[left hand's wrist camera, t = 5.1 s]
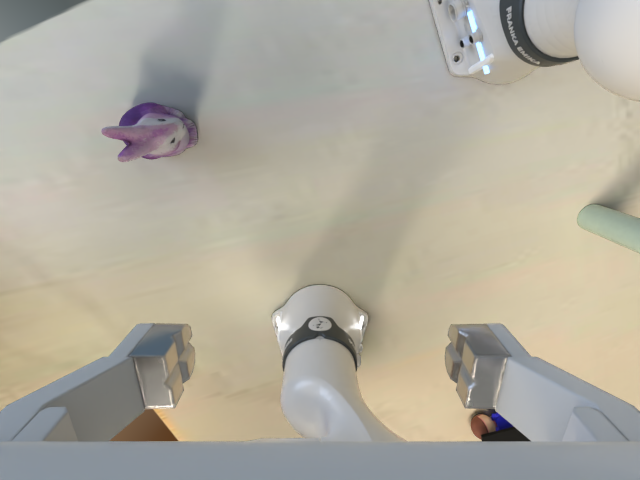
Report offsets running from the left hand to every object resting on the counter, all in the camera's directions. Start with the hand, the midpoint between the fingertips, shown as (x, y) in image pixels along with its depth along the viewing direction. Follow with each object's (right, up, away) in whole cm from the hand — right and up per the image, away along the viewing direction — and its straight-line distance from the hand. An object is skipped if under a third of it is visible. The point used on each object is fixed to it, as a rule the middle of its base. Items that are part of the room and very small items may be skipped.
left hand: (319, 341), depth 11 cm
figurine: (-24, +21, +43) cm, 54 cm away
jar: (+48, +7, +49) cm, 68 cm away
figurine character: (+40, -35, +64) cm, 84 cm away
